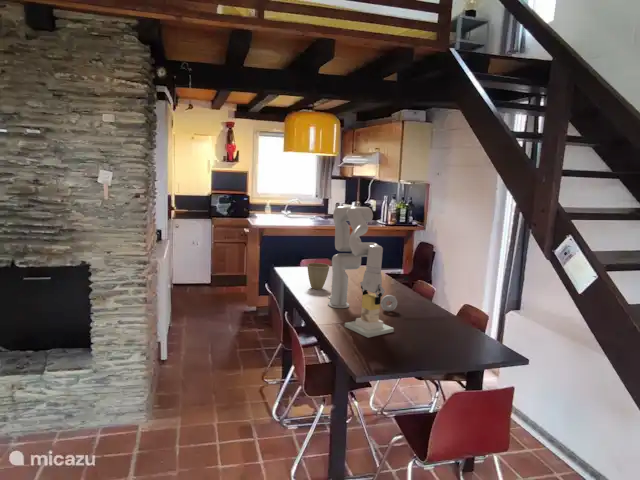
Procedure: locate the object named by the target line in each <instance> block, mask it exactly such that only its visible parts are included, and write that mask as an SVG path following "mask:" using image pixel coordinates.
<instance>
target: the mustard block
mask: <svg viewBox="0 0 640 480" xmlns="http://www.w3.org/2000/svg"><path fill="white" fill-rule="evenodd" d="M362 295H363V294H362ZM362 295H361V296H362ZM375 297H376V294H375V293H368V294H365V295H363V296H362V299H361V308H362V307H363V308H365V309H368V310H376V309H381V303H380V304H378V305H375Z"/></svg>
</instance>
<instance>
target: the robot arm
mask: <svg viewBox="0 0 640 480" xmlns="http://www.w3.org/2000/svg"><path fill="white" fill-rule="evenodd" d="M332 216H333V217H332V219H333V223H334V229H335V230H334V247H335V250H337V251H338V252H351V253H337V254H334V255H333V256H332V257H331V266H332V275H331V277H332V278H331V279H332V280H331V294H330V295H329V296H328V297H327V299H329V301H328V303H327V306H329V307H331V308H335V309H348V308H349V307H350V303H349V302H348V292H349V291H348V290H349V289H348V288H349V276H348V273H347V272H346V271H348V270H358V269H360V267H361V265H362V258H364V257H366V266H365V271H364V273H363V279H362V281H361V282H359V284H360V288H361V292H362V295H361V296H363V295H365V294H369V293H371V294H375V295H376V297H375V305H378V304H380V305H381V300H382V298H383V296H384V293H385V291H386V290H385V288H384V287H383V286H382V285H383V278H382V263H383V252H384V247H382V245H379V244H378V243H376V242H372V241H371V242H363V241H362V239H361V238H360V237H362V236H364V235H365V234H367V232H368V231H369V225H368V223H370V222H371V221H372V220H373V218H374V214H373V210H372V208H370V207H368V206H351V205H350V206H349V205H348V206H346V205H344V206H343V205H341V206H337V207H335V208H334V210H333V214H332ZM348 222H349V224H348ZM350 227H351V229H352V231H351V229H350Z"/></svg>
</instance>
